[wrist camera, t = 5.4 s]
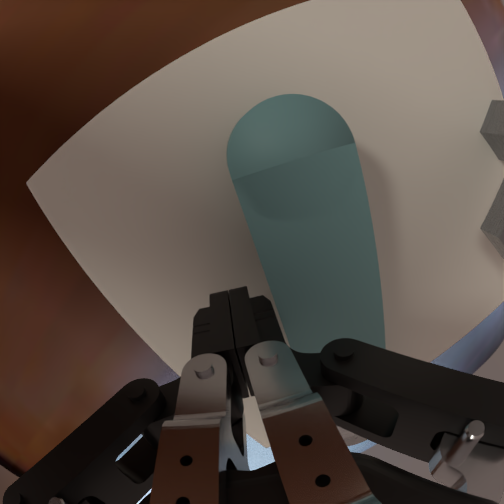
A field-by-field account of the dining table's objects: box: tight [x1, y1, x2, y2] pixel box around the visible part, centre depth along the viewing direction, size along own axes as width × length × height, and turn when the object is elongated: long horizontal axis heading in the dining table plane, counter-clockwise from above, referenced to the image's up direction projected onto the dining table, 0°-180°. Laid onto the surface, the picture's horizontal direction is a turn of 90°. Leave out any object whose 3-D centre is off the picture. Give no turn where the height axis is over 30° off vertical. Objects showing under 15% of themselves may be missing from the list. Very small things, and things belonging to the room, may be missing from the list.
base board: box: [26, 0, 504, 448], centre depth 14 cm, size 22×24×2 cm
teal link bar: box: [226, 94, 386, 353], centre depth 12 cm, size 18×5×2 cm, turn 18°
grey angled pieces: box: [336, 100, 504, 446], centre depth 12 cm, size 22×6×4 cm, turn 150°
